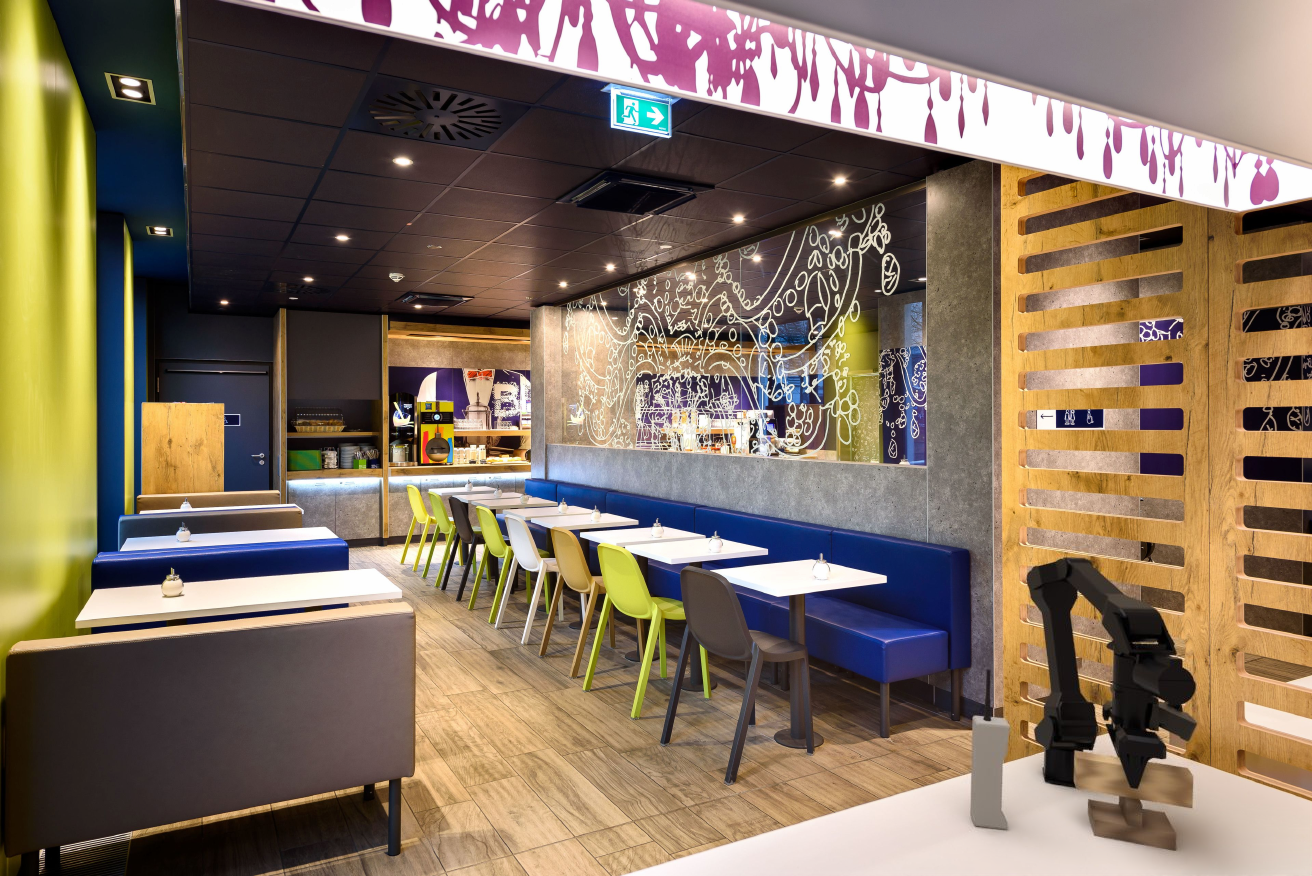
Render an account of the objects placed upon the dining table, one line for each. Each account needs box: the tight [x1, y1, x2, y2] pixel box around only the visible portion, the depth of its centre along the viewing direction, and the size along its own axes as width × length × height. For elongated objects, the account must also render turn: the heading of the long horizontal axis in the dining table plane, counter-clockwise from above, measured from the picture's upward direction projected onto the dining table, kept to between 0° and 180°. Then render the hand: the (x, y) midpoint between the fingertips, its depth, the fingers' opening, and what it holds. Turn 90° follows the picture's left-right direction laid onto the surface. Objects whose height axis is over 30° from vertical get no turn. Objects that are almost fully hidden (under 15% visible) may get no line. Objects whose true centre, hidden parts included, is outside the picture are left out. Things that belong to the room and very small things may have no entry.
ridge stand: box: [1087, 796, 1177, 851], centre depth 127 cm, size 11×8×6 cm
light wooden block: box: [1074, 751, 1194, 809], centre depth 127 cm, size 16×4×5 cm, turn 68°
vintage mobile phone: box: [969, 668, 1011, 830], centre depth 128 cm, size 4×5×25 cm
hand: (1130, 781), depth 127 cm, fingers open, 5 cm apart
